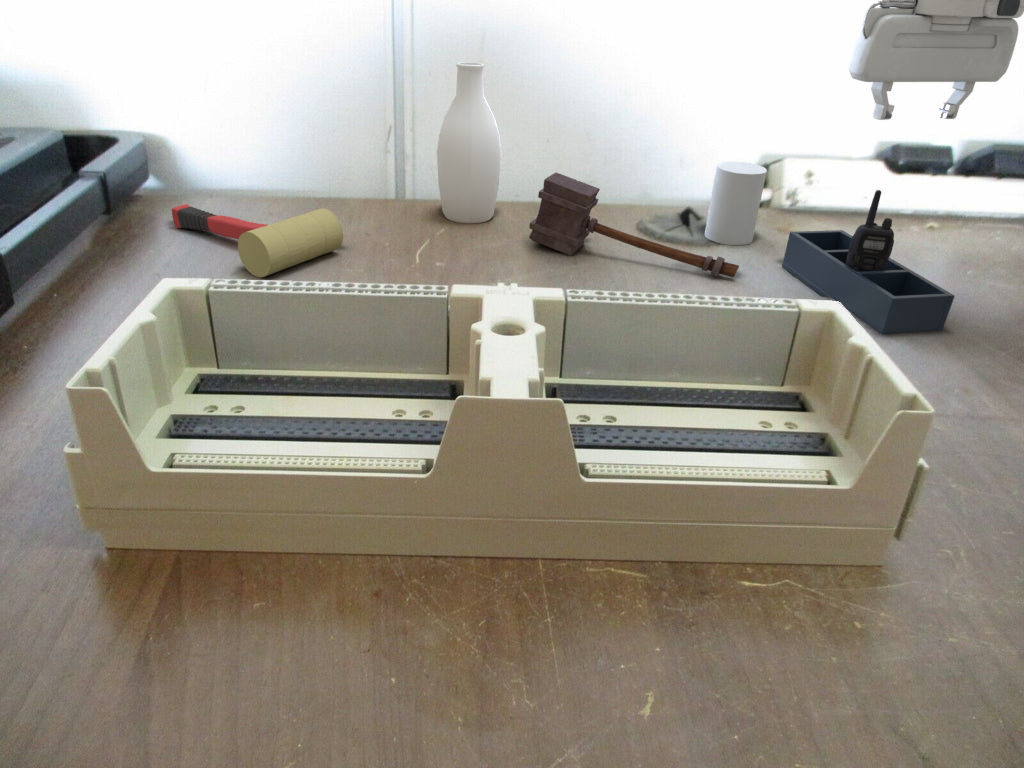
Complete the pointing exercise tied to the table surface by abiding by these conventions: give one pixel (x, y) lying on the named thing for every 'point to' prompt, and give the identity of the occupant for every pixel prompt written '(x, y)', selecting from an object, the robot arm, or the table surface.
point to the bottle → (469, 151)
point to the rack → (867, 284)
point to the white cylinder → (735, 202)
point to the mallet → (269, 237)
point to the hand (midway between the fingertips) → (914, 118)
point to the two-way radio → (871, 242)
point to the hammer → (596, 225)
